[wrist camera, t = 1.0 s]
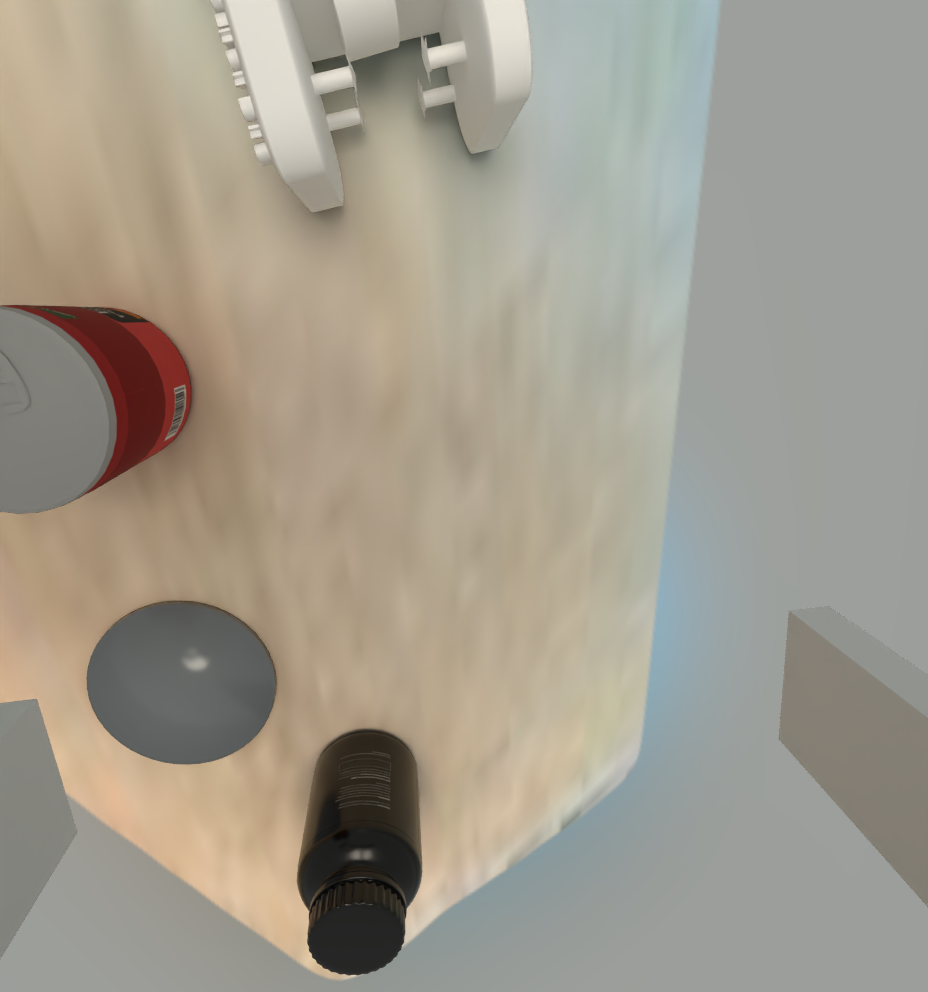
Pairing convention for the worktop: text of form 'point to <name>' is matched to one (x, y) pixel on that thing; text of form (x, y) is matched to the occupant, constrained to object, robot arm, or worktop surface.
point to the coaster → (181, 682)
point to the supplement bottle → (360, 852)
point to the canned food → (82, 400)
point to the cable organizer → (357, 34)
